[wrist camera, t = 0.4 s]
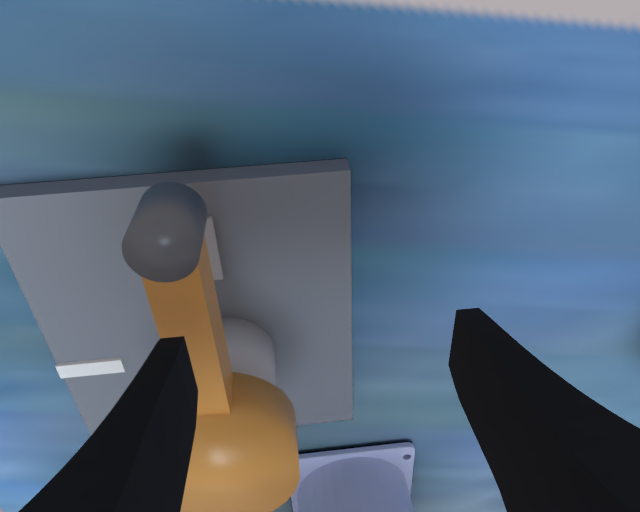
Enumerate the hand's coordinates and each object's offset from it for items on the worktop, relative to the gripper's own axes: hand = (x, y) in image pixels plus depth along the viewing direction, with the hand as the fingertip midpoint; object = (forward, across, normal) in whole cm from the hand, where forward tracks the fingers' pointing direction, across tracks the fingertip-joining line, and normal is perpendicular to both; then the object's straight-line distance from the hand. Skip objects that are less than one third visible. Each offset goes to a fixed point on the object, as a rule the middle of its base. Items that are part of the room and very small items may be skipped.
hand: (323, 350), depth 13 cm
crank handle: (+4, +4, +4) cm, 7 cm away
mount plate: (+9, +5, +6) cm, 12 cm away
